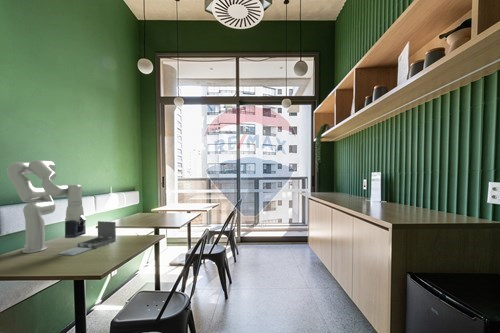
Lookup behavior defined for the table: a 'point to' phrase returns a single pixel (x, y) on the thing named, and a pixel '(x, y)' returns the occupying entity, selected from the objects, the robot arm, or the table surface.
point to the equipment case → (102, 235)
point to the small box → (73, 229)
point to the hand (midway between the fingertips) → (75, 231)
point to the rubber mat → (75, 251)
